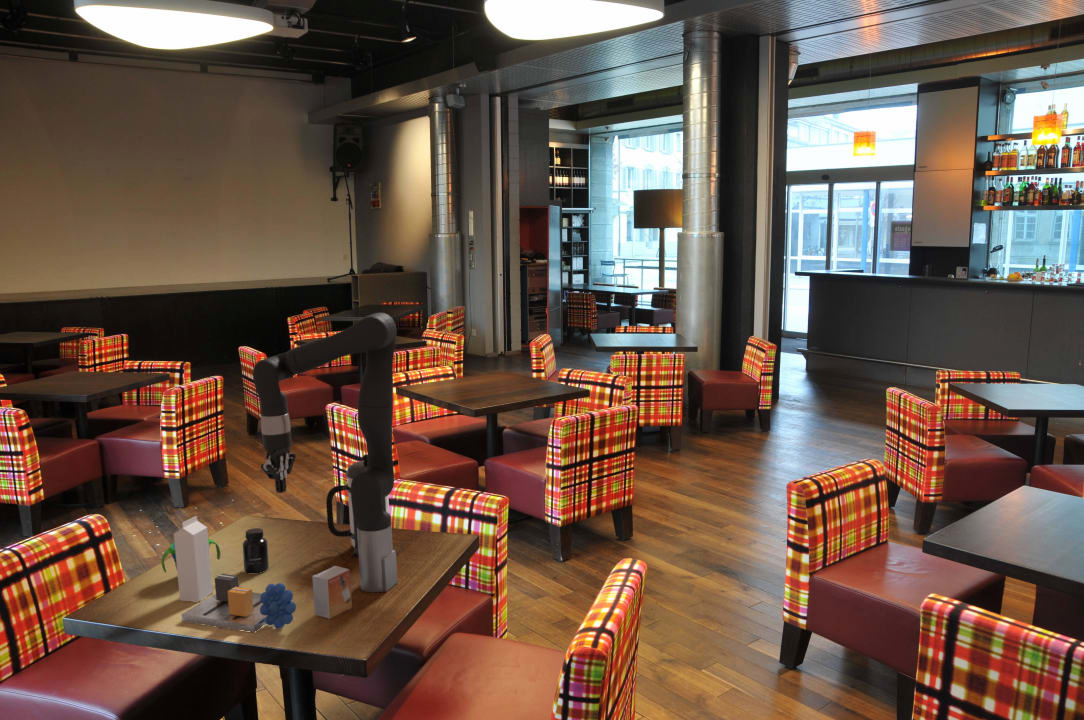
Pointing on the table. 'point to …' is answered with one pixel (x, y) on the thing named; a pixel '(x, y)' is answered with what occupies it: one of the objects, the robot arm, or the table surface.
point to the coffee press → (350, 504)
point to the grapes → (277, 605)
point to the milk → (193, 561)
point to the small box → (332, 592)
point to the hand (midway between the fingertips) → (281, 491)
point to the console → (226, 615)
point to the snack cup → (172, 551)
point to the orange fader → (240, 601)
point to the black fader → (225, 585)
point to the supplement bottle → (255, 551)
